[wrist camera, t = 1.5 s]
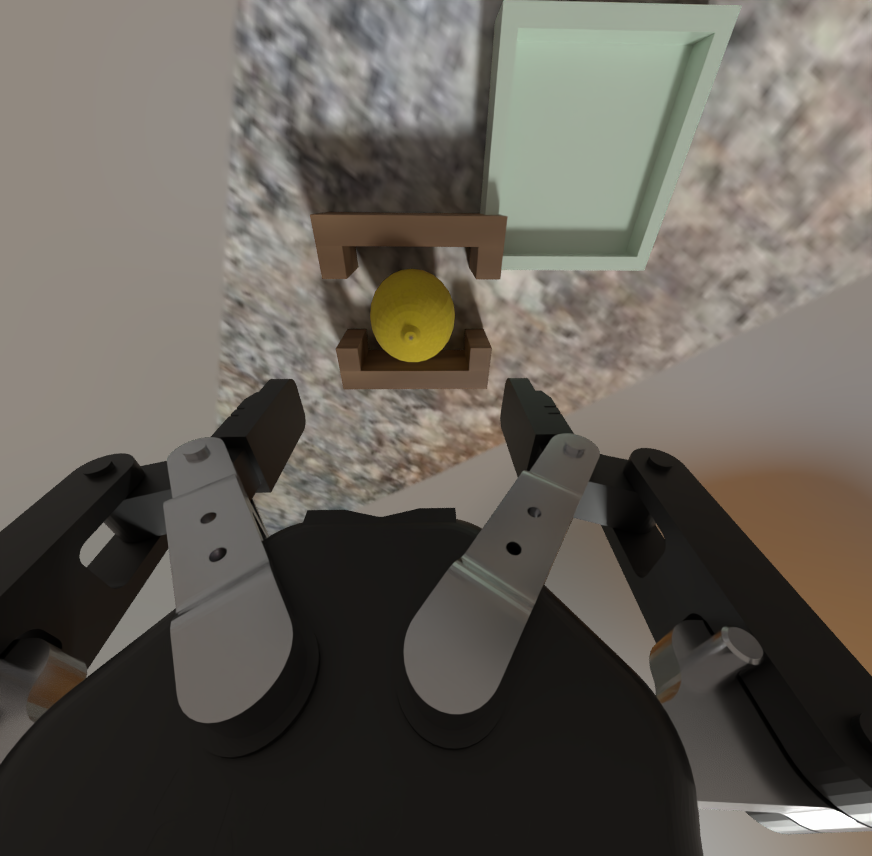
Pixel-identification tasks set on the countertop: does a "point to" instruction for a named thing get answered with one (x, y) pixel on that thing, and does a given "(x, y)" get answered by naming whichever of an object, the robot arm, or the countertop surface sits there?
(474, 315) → the countertop surface
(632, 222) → the dish
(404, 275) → the lemon
